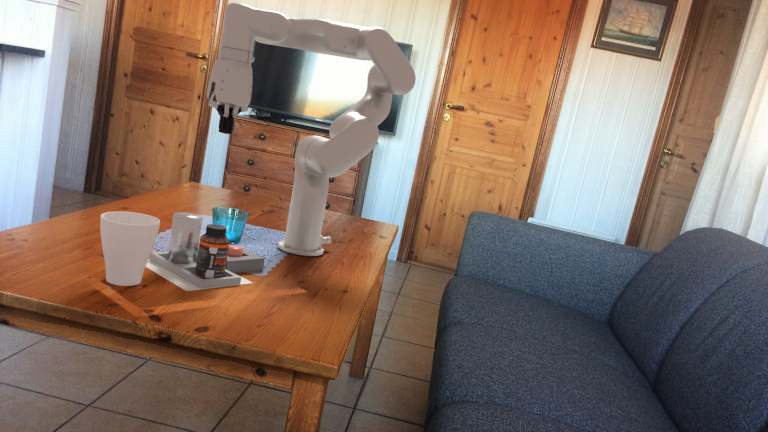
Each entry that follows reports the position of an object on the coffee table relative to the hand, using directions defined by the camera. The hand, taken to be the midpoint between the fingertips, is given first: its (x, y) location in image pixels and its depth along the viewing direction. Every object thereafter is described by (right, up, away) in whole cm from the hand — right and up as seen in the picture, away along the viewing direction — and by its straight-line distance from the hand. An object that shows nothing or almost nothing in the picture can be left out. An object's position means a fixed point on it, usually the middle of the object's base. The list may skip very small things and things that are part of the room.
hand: (224, 132), depth 152 cm
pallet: (-1, -33, -20) cm, 39 cm away
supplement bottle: (+3, -34, -23) cm, 41 cm away
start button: (+5, -30, -11) cm, 33 cm away
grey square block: (+4, -33, -11) cm, 35 cm away
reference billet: (-5, -31, -18) cm, 36 cm away
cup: (-11, -34, -33) cm, 49 cm away
